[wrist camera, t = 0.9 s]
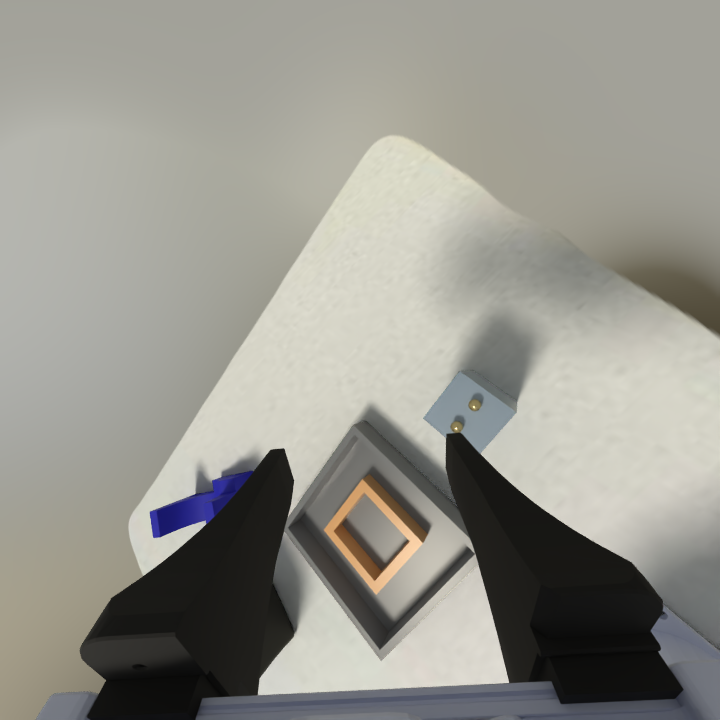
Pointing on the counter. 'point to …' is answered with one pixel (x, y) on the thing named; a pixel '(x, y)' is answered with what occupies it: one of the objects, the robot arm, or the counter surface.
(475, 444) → the connector plug
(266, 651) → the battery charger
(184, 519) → the cable clip
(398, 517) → the box
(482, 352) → the counter surface
